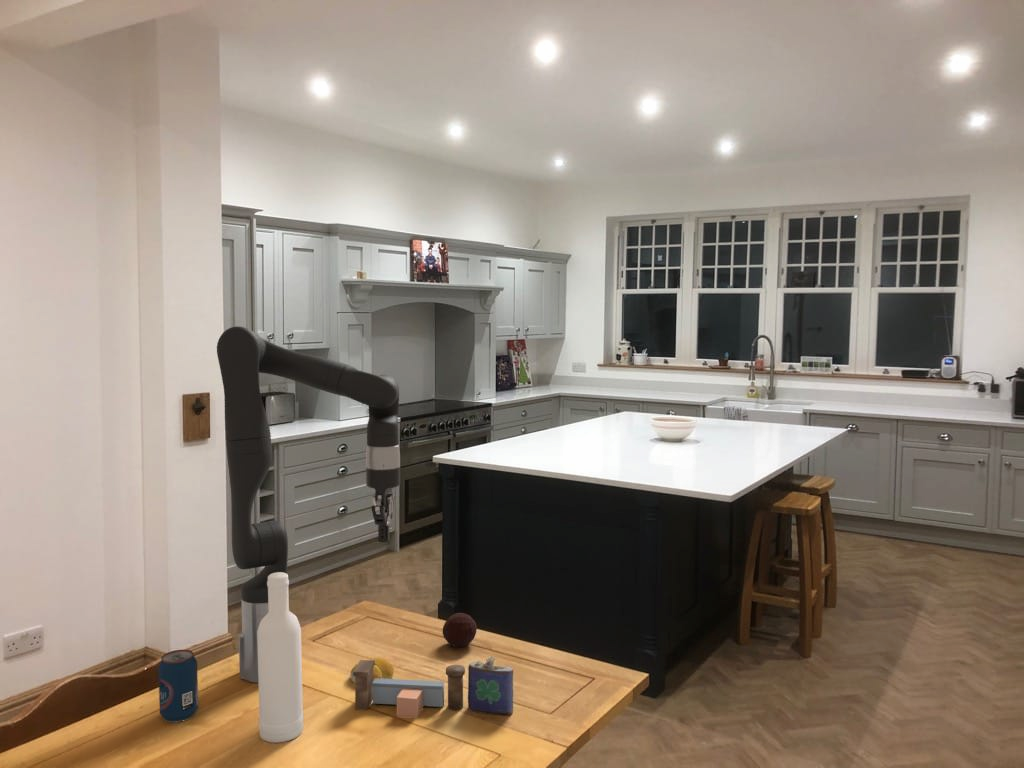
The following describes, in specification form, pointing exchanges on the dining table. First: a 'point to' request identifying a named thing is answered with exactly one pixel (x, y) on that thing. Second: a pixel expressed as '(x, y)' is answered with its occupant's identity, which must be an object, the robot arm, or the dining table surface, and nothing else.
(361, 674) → the stepped wooden slab
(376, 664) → the bread roll
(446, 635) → the dark maroon ball
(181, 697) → the soda can
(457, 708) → the dark brown cylindrical piece
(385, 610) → the dining table surface
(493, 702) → the flask
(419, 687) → the grey rectangular bar
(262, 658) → the bottle
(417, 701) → the block
